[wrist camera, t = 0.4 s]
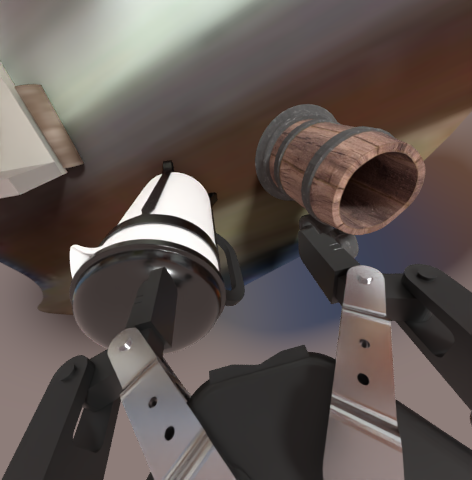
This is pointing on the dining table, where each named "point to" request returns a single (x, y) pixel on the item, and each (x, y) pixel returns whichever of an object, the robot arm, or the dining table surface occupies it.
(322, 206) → the tankard
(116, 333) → the coffee press
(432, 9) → the dining table surface
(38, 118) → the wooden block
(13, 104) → the l-shaped bookend
